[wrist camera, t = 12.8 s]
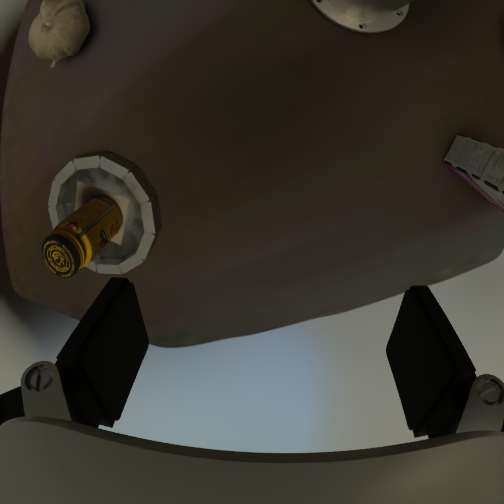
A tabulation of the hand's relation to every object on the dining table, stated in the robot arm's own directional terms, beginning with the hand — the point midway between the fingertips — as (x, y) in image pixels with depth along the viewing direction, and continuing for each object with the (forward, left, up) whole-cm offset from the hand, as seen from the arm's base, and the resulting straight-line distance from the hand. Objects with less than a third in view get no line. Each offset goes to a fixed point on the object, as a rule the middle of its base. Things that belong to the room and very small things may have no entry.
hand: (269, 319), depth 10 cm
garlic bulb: (-19, -25, -29) cm, 42 cm away
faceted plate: (+7, -23, -28) cm, 37 cm away
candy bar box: (-1, +28, -28) cm, 40 cm away
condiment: (+7, -23, -28) cm, 37 cm away
